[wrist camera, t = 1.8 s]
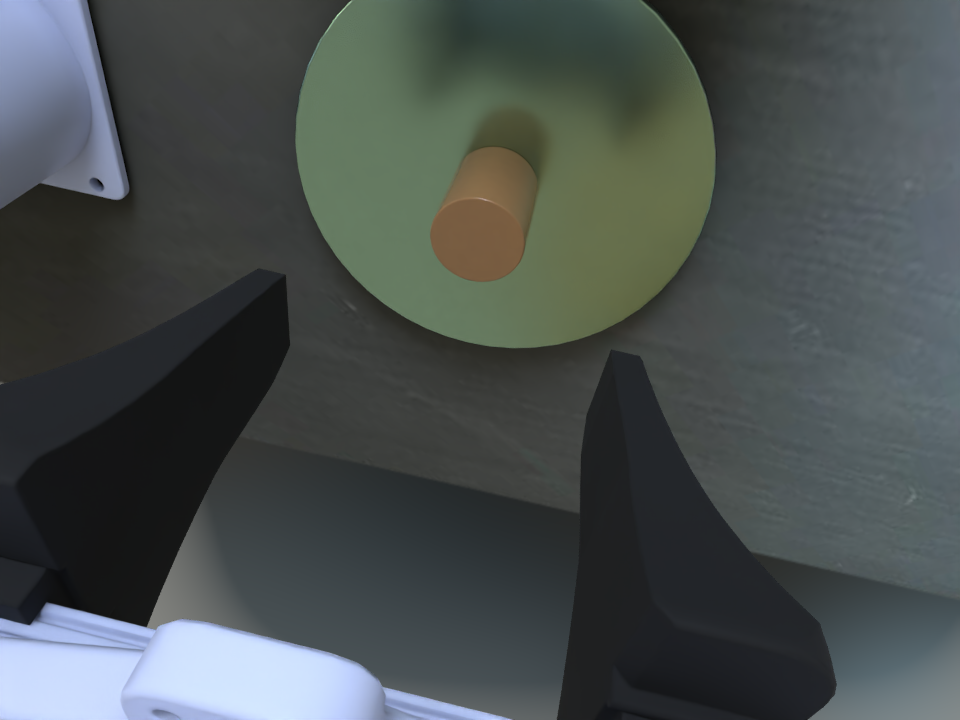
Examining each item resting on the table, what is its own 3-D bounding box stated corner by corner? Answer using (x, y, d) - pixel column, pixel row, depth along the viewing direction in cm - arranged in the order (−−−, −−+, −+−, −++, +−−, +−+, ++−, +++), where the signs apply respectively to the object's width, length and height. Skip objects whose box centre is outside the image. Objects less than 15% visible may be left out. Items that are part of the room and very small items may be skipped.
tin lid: (637, 362, 25) (637, 449, 22) (311, 288, 26) (264, 362, 22) (792, -8, 17) (830, 42, 13) (300, -111, 17) (221, -87, 14)
